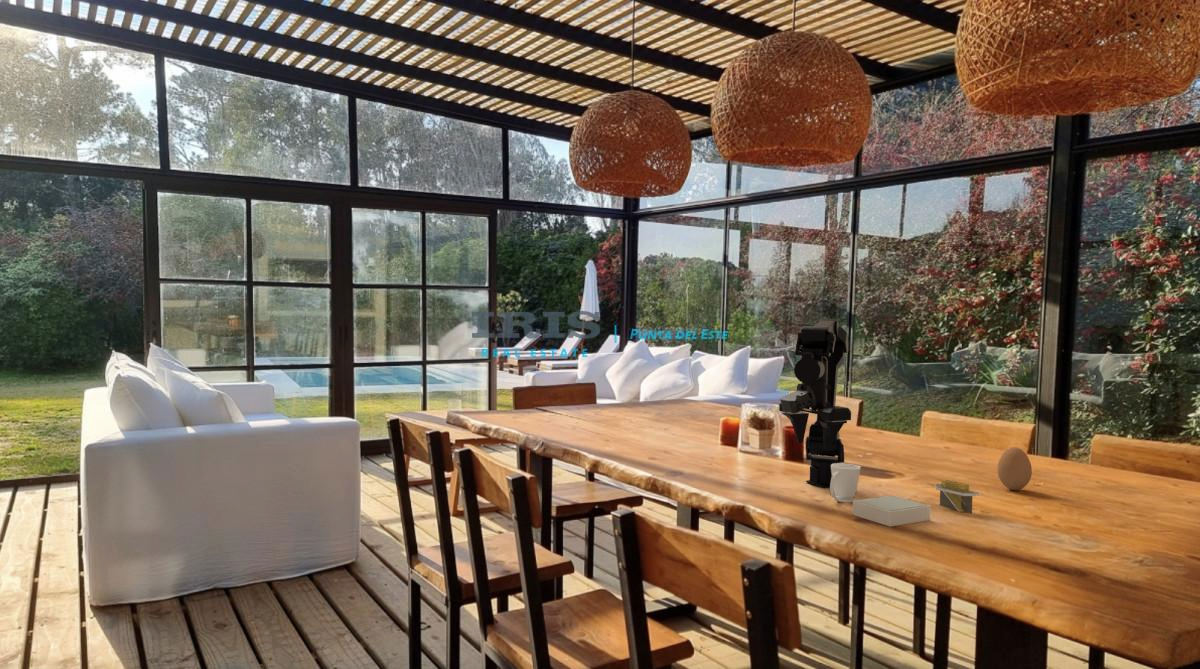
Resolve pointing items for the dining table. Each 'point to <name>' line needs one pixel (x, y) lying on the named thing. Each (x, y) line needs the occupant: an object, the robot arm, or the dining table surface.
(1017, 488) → the egg
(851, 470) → the cup
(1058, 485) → the dining table surface
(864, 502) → the slab
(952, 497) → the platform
